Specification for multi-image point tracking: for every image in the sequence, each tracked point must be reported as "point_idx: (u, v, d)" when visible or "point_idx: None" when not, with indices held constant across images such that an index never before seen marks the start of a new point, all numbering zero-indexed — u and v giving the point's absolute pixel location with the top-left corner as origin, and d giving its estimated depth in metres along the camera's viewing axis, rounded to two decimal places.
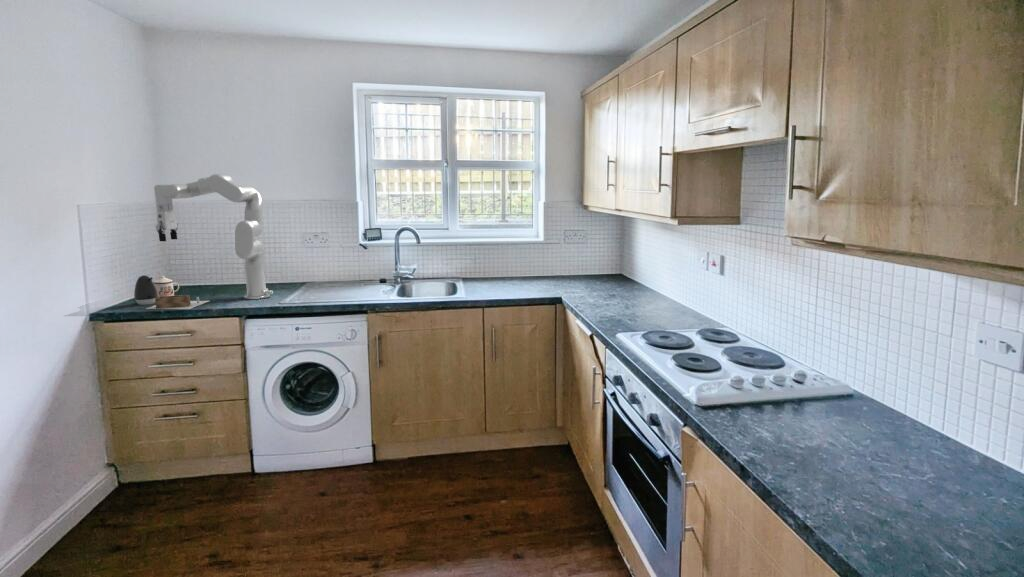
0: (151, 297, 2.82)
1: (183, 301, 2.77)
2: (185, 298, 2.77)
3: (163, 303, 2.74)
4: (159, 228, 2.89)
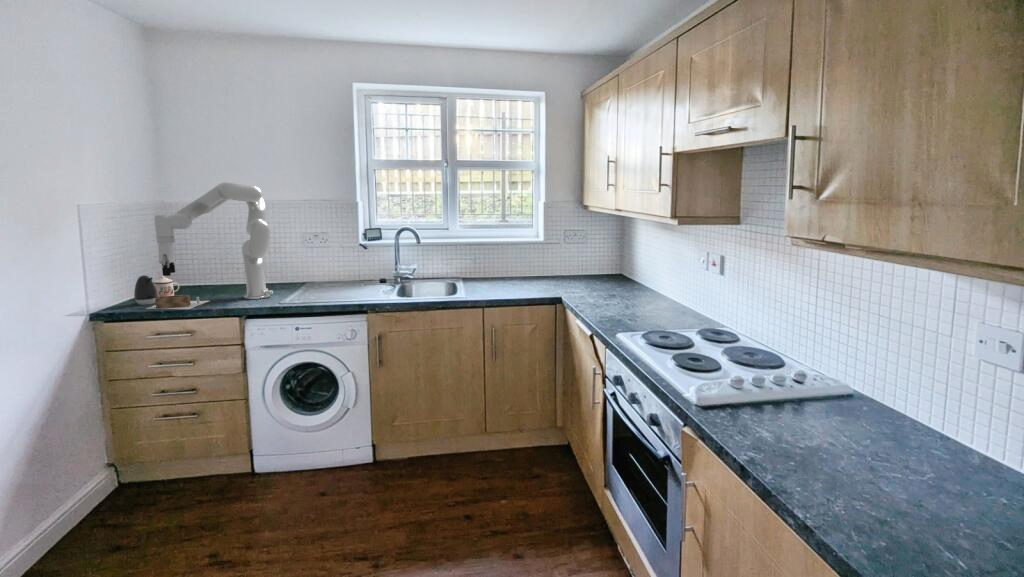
0: (151, 297, 2.82)
1: (183, 301, 2.77)
2: (185, 298, 2.77)
3: (163, 303, 2.74)
4: None
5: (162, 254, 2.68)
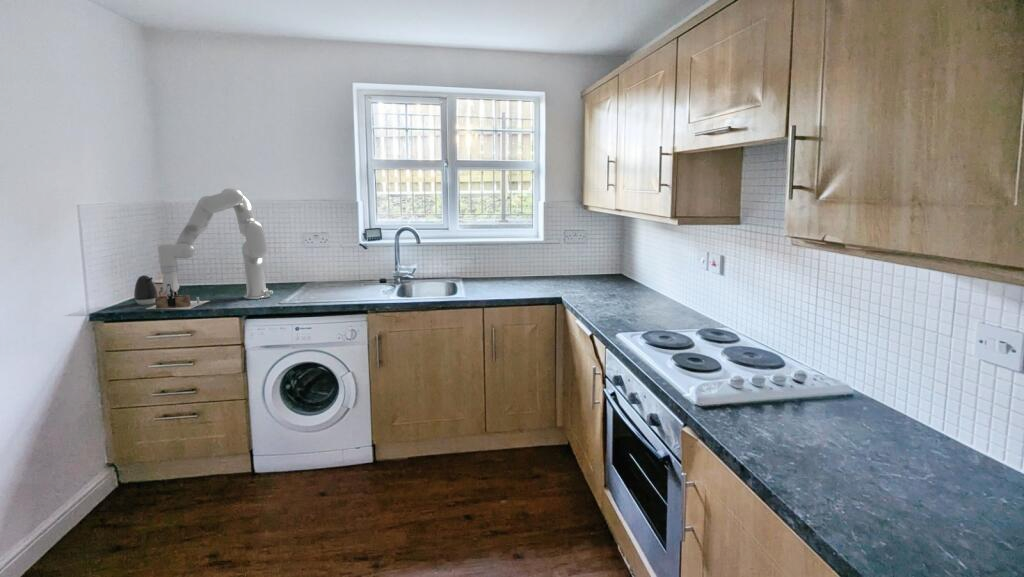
0: (151, 297, 2.82)
1: (183, 301, 2.77)
2: (185, 298, 2.77)
3: (163, 303, 2.74)
4: None
5: (166, 284, 2.71)
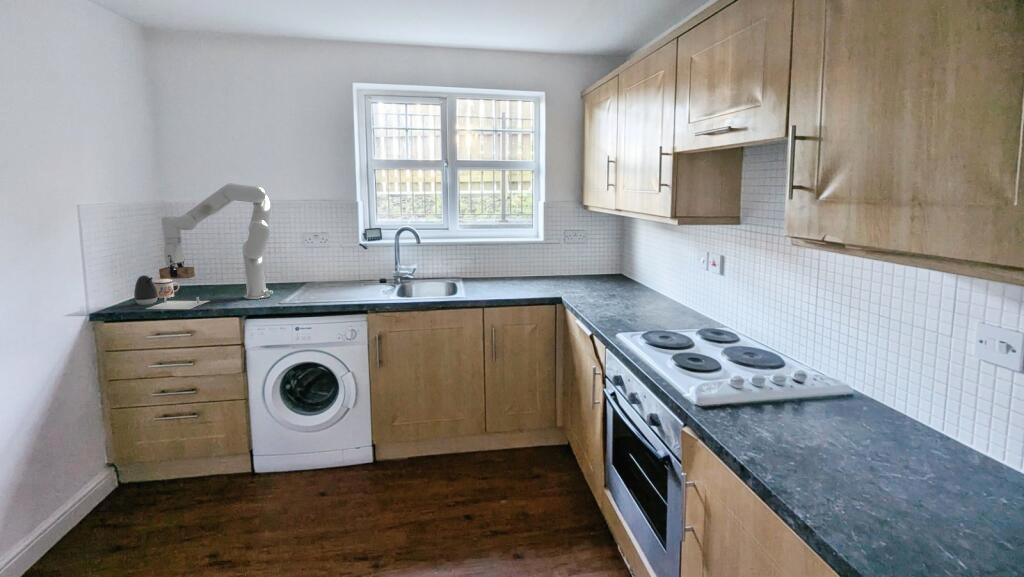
0: (151, 297, 2.82)
1: (184, 273, 2.79)
2: (186, 270, 2.79)
3: (166, 274, 2.79)
4: None
5: (167, 255, 2.75)
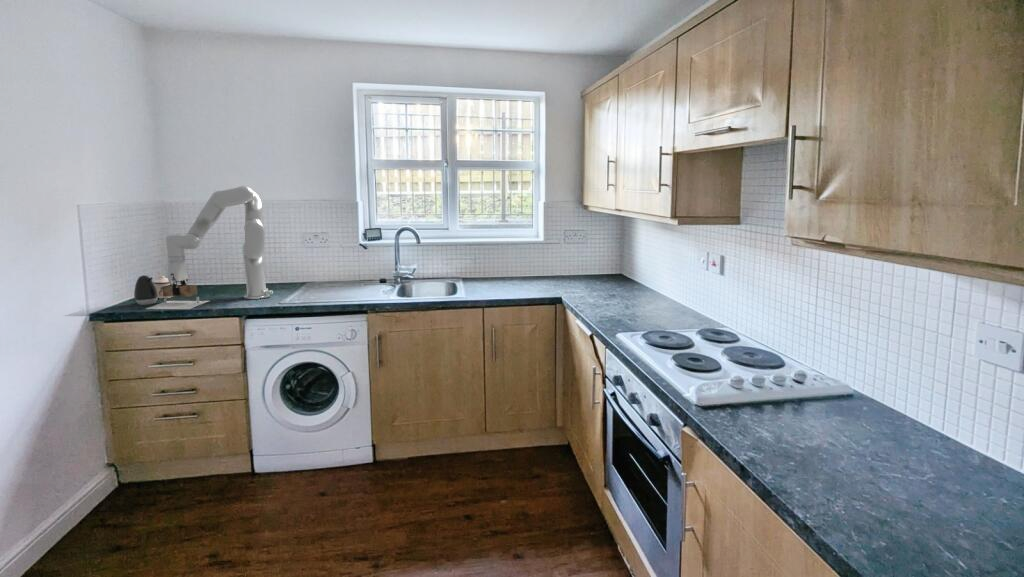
0: (151, 297, 2.82)
1: (186, 291, 2.82)
2: (188, 288, 2.82)
3: (169, 291, 2.82)
4: None
5: (170, 273, 2.78)
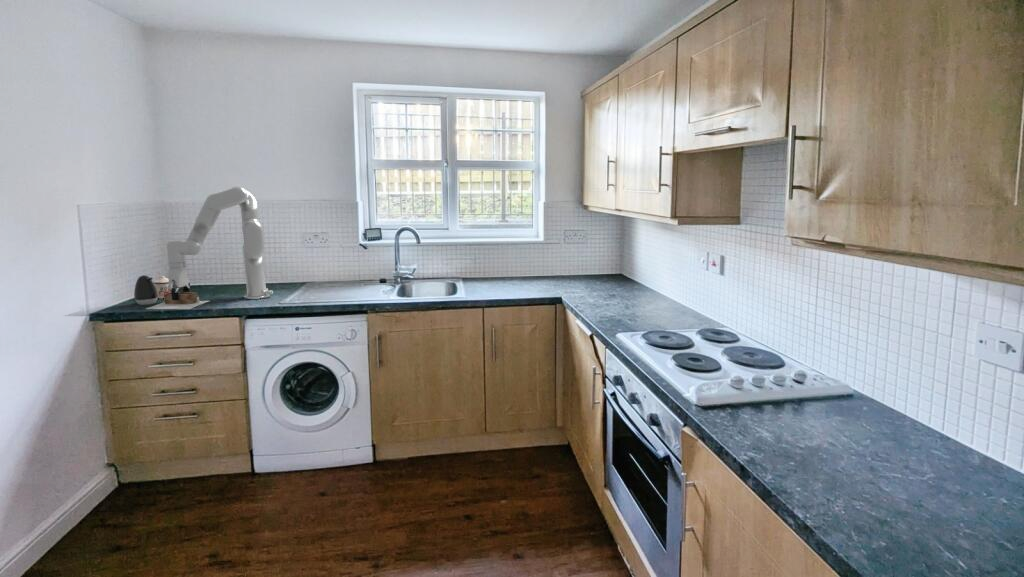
0: (151, 297, 2.82)
1: (187, 298, 2.83)
2: (189, 295, 2.83)
3: (170, 299, 2.83)
4: None
5: (171, 279, 2.79)
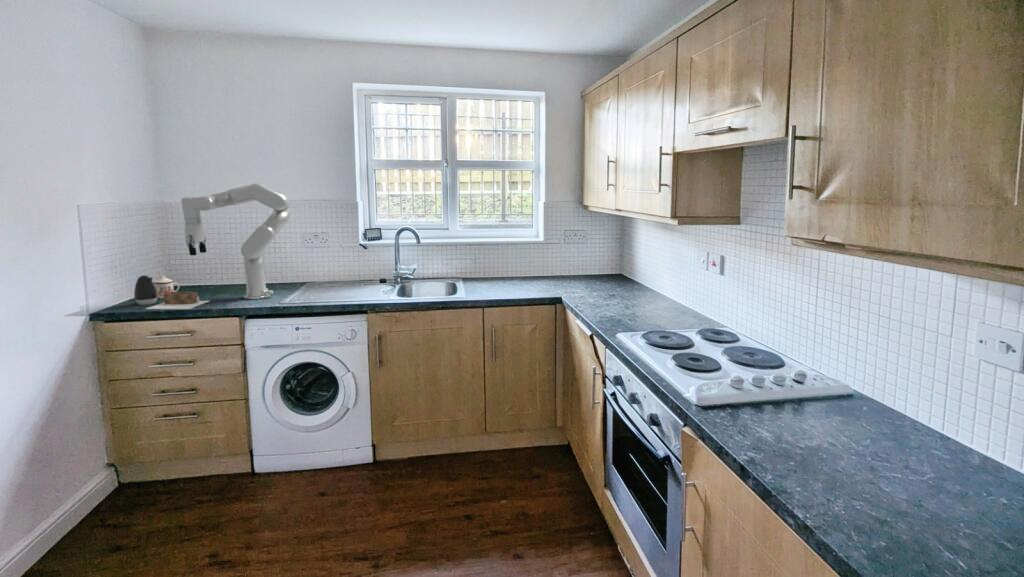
0: (151, 297, 2.82)
1: (187, 298, 2.83)
2: (189, 295, 2.83)
3: (170, 299, 2.83)
4: None
5: (188, 235, 2.84)
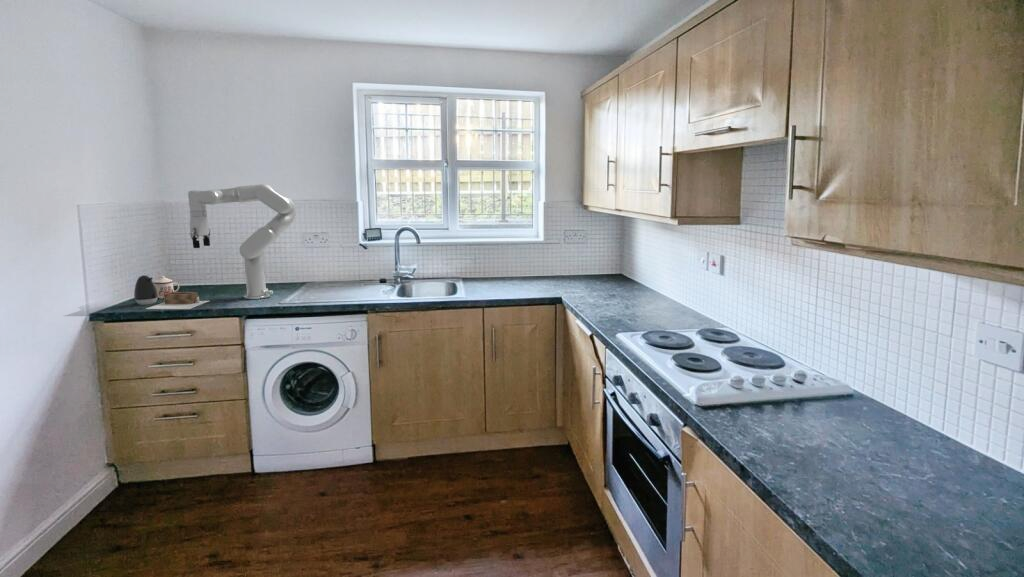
0: (151, 297, 2.82)
1: (187, 298, 2.83)
2: (189, 295, 2.83)
3: (170, 299, 2.83)
4: None
5: (192, 227, 2.85)
